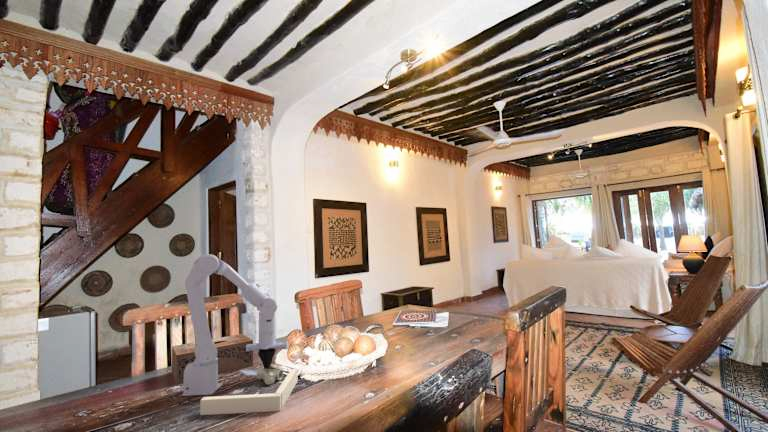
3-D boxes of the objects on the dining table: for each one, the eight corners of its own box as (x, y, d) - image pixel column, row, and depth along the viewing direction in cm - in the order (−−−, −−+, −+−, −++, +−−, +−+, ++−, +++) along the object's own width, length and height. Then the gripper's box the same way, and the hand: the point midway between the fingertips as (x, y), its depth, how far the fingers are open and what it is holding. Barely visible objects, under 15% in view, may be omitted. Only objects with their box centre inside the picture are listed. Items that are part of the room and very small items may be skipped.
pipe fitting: (273, 387, 113) (283, 378, 119) (272, 375, 113) (282, 366, 119) (251, 386, 114) (262, 377, 121) (251, 374, 114) (261, 366, 121)
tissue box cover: (243, 357, 145) (243, 333, 145) (253, 366, 133) (252, 340, 134) (171, 373, 129) (172, 346, 130) (176, 385, 118) (176, 355, 119)
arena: (200, 415, 95) (200, 400, 95) (232, 384, 116) (232, 372, 116) (280, 410, 95) (280, 396, 96) (297, 380, 116) (297, 368, 116)
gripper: (242, 335, 119) (242, 375, 118) (284, 333, 119) (285, 373, 118) (249, 330, 126) (250, 368, 125) (289, 328, 126) (290, 366, 125)
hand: (267, 370), depth 122 cm, fingers closed
